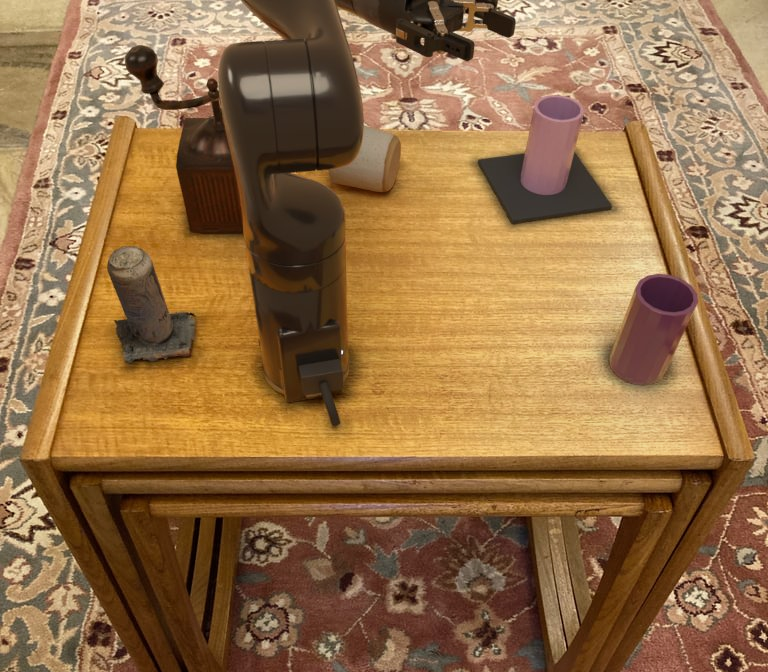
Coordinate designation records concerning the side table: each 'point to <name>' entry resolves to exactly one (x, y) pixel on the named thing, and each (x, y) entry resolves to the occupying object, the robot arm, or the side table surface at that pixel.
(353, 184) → the ceramic mug
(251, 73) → the robot arm
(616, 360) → the plum cup
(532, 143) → the lilac cup
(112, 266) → the grey post on base
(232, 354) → the side table surface
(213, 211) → the manual coffee grinder
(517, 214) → the placemat
